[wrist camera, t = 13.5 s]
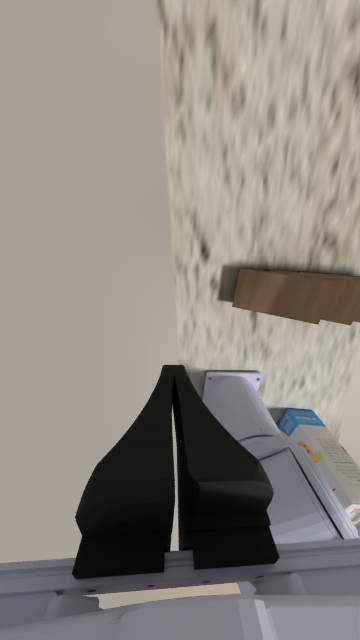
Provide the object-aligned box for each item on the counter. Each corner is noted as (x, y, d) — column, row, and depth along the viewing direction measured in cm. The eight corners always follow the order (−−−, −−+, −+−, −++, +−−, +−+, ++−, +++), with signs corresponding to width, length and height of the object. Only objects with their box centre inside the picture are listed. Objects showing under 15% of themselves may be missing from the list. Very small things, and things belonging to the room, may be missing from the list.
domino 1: (242, 267, 19) (331, 278, 16) (234, 302, 21) (314, 318, 18) (239, 269, 18) (336, 281, 15) (232, 306, 20) (318, 324, 17)
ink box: (285, 407, 29) (385, 551, 16) (313, 409, 30) (431, 550, 16) (266, 440, 32) (334, 581, 19) (291, 441, 33) (374, 580, 20)
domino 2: (270, 269, 20) (364, 280, 17) (261, 303, 21) (345, 319, 18) (270, 271, 18) (372, 283, 15) (260, 307, 20) (350, 325, 17)
